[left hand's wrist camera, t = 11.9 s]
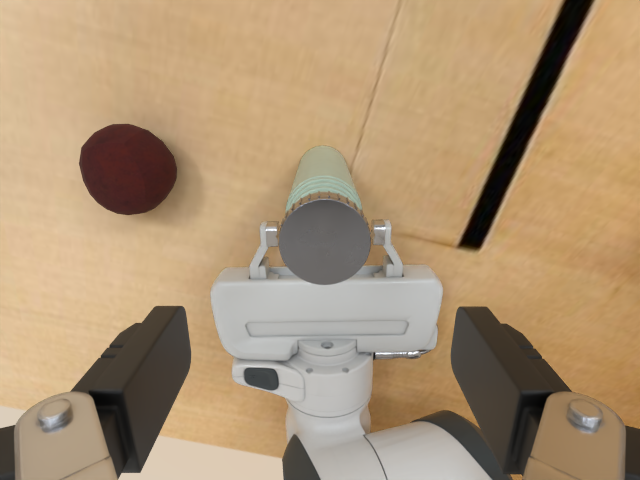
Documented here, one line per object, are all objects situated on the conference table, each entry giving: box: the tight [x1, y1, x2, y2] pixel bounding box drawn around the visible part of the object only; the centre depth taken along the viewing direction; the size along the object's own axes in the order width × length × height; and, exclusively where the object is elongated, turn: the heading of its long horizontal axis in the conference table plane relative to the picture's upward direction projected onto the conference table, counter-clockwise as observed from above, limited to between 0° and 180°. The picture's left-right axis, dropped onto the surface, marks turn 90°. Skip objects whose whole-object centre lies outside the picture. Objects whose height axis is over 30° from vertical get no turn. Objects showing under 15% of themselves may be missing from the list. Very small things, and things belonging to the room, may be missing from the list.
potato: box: [79, 124, 177, 215], centre depth 34 cm, size 7×8×7 cm
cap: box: [278, 191, 371, 285], centre depth 19 cm, size 4×4×2 cm
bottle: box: [286, 146, 362, 211], centre depth 28 cm, size 5×5×20 cm
